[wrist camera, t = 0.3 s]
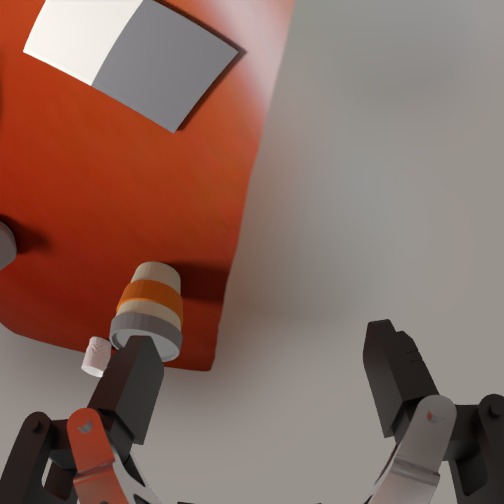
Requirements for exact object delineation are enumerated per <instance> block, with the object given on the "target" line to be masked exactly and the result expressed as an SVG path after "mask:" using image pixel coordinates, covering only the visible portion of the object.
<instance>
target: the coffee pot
mask: <svg viewBox="0 0 504 504" xmlns="http://www.w3.org/2000/svg"><path fill="white" fill-rule="evenodd" d="M16 252H17V247H16V243H15V238H14V235H13V233H12V232H11V230H10V229H9V228H8V227H7V226H6V225H5V224H4V223H2V222H0V270H1V269H3V268H4V267H5V266H7V265H8V264H10V263H11V262H12V261H14V259H15V257H16Z"/></svg>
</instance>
